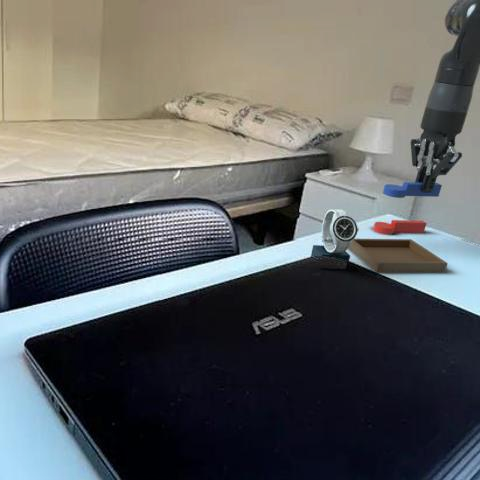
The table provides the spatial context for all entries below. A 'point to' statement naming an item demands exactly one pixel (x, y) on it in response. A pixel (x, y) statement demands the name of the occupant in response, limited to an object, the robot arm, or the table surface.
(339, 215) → the watch
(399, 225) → the red spoon
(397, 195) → the blue spoon
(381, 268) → the tray
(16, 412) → the table surface
